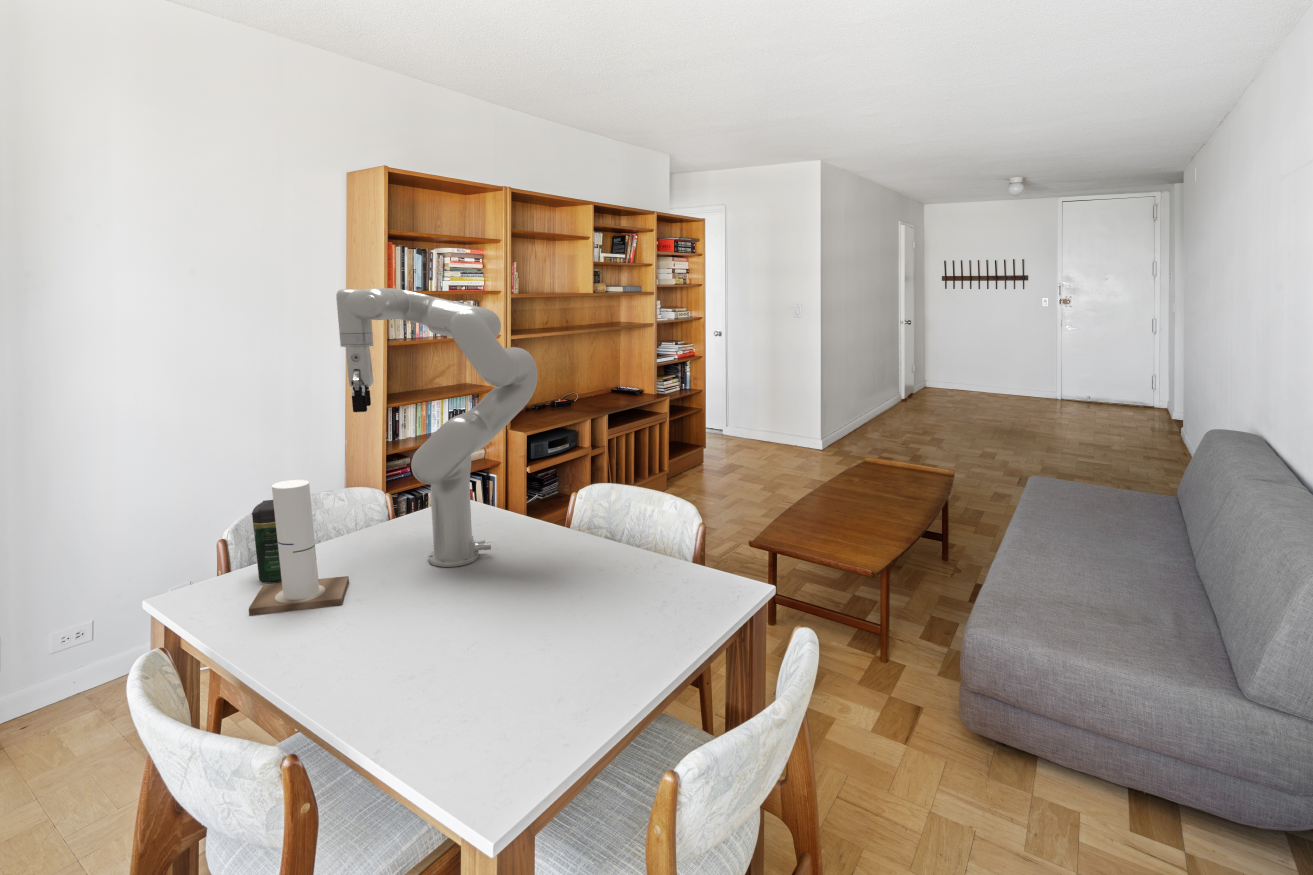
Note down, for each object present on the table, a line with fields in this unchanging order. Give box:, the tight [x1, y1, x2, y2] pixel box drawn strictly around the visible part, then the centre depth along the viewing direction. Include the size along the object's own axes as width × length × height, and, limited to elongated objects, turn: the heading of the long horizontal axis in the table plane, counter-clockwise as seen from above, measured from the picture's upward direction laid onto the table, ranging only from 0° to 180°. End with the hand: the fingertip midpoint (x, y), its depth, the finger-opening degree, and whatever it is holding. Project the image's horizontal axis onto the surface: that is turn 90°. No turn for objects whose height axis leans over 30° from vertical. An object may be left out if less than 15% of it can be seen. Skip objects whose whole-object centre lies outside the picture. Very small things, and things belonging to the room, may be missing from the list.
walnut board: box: [248, 575, 350, 616], centre depth 156 cm, size 18×13×2 cm
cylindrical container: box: [271, 479, 319, 600], centre depth 152 cm, size 7×7×25 cm
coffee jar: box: [251, 499, 282, 584], centre depth 166 cm, size 10×8×19 cm
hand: (362, 408), depth 175 cm, fingers open, 9 cm apart
